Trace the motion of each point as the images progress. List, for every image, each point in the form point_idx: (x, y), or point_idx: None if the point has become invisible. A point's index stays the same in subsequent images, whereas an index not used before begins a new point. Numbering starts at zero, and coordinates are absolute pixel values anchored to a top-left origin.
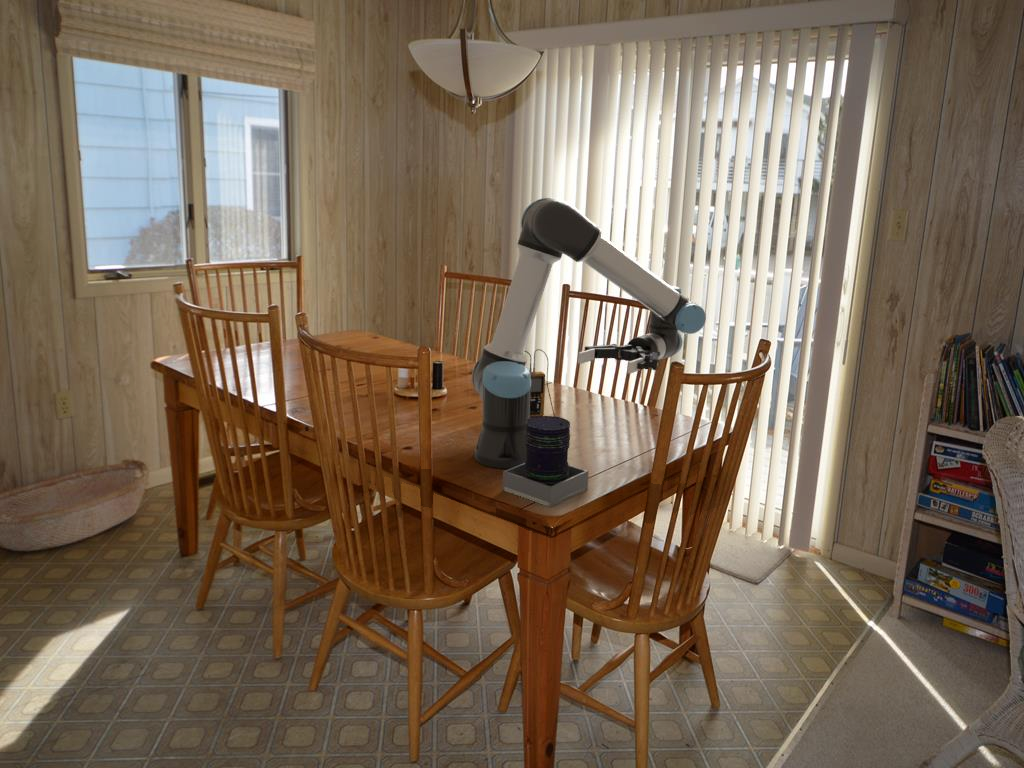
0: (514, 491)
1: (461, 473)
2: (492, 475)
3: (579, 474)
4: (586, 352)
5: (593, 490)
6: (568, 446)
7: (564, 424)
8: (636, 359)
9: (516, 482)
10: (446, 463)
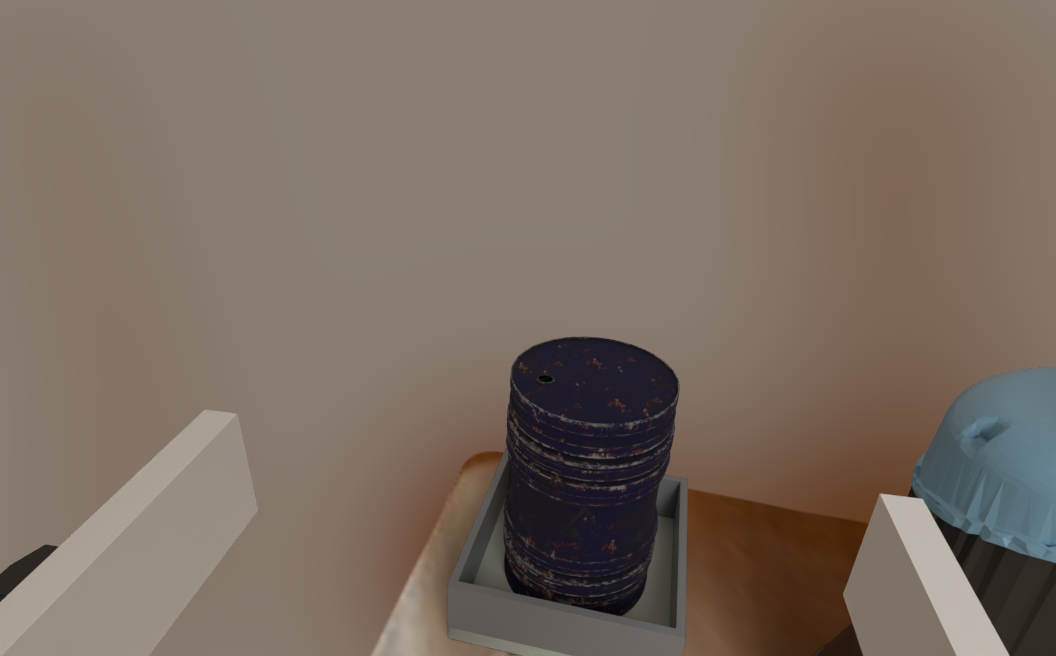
0: None
1: None
2: (794, 601)
3: (467, 547)
4: (927, 616)
5: (426, 643)
6: (508, 449)
7: (533, 384)
8: (91, 549)
9: None
10: None
